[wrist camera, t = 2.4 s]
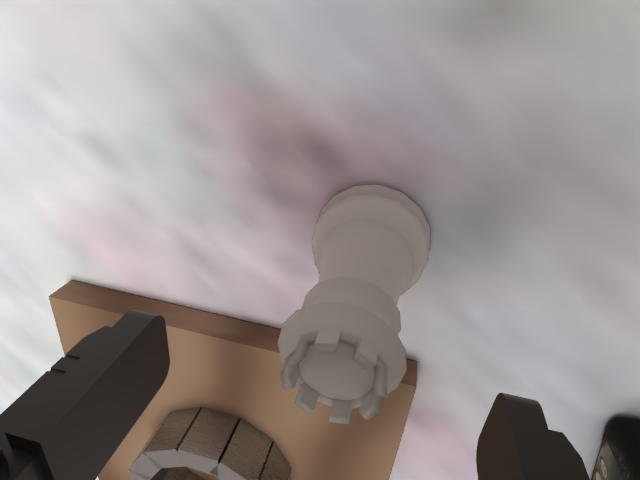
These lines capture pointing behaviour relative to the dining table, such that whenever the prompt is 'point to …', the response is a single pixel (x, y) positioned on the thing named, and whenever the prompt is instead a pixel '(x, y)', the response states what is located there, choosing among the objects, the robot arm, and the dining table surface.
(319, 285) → the rook chess piece
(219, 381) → the walnut plate
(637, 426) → the mobile phone
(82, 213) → the dining table surface
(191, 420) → the metal collar
